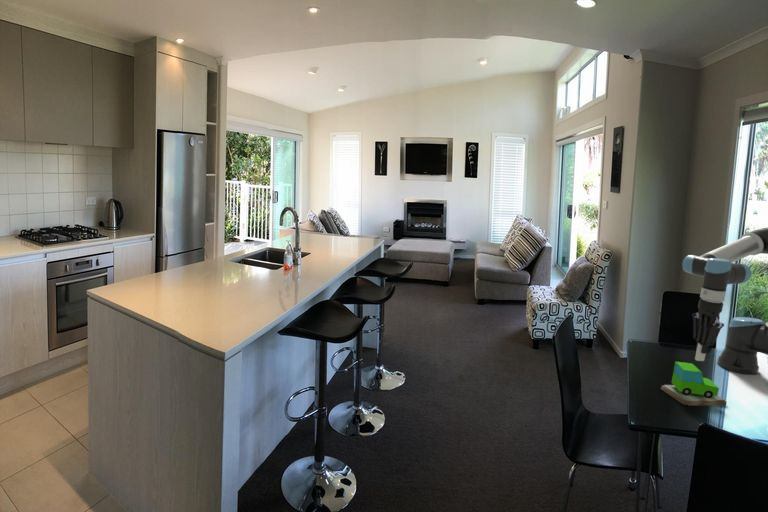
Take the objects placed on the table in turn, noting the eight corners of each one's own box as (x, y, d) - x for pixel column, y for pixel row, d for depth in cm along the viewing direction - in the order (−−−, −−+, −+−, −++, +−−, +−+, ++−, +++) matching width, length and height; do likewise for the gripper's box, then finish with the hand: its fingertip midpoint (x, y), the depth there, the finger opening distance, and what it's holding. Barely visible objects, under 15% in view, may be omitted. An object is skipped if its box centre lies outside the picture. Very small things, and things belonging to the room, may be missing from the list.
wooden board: (700, 389, 195) (701, 384, 195) (725, 405, 182) (727, 400, 182) (660, 389, 193) (661, 384, 193) (684, 405, 180) (685, 400, 180)
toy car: (719, 401, 181) (724, 375, 179) (680, 395, 183) (684, 371, 182) (706, 388, 191) (711, 364, 189) (669, 384, 193) (674, 360, 191)
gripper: (689, 295, 186) (678, 353, 191) (716, 305, 173) (703, 367, 178) (707, 295, 187) (695, 353, 192) (735, 305, 174) (722, 367, 179)
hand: (699, 360), depth 185 cm, fingers closed
